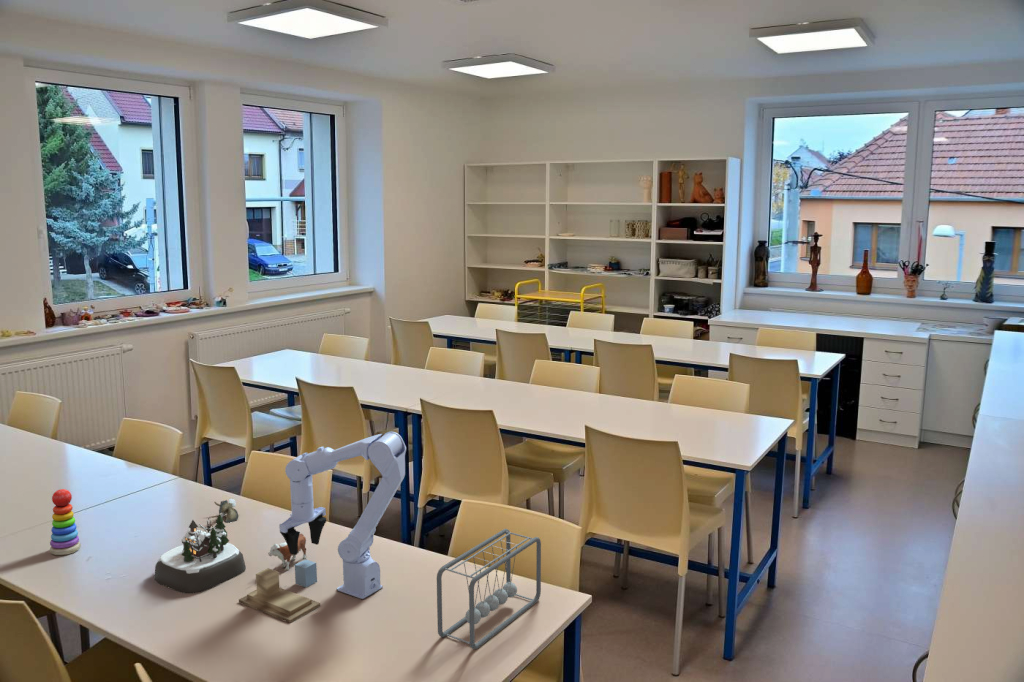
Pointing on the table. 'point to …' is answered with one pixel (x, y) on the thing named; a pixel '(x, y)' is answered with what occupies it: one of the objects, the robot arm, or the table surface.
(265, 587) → the brass block
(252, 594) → the plinth
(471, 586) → the newton's cradle
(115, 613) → the table surface
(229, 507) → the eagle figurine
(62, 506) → the stacking toy
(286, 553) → the bull figurine
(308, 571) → the slate block
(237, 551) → the miniature diorama
